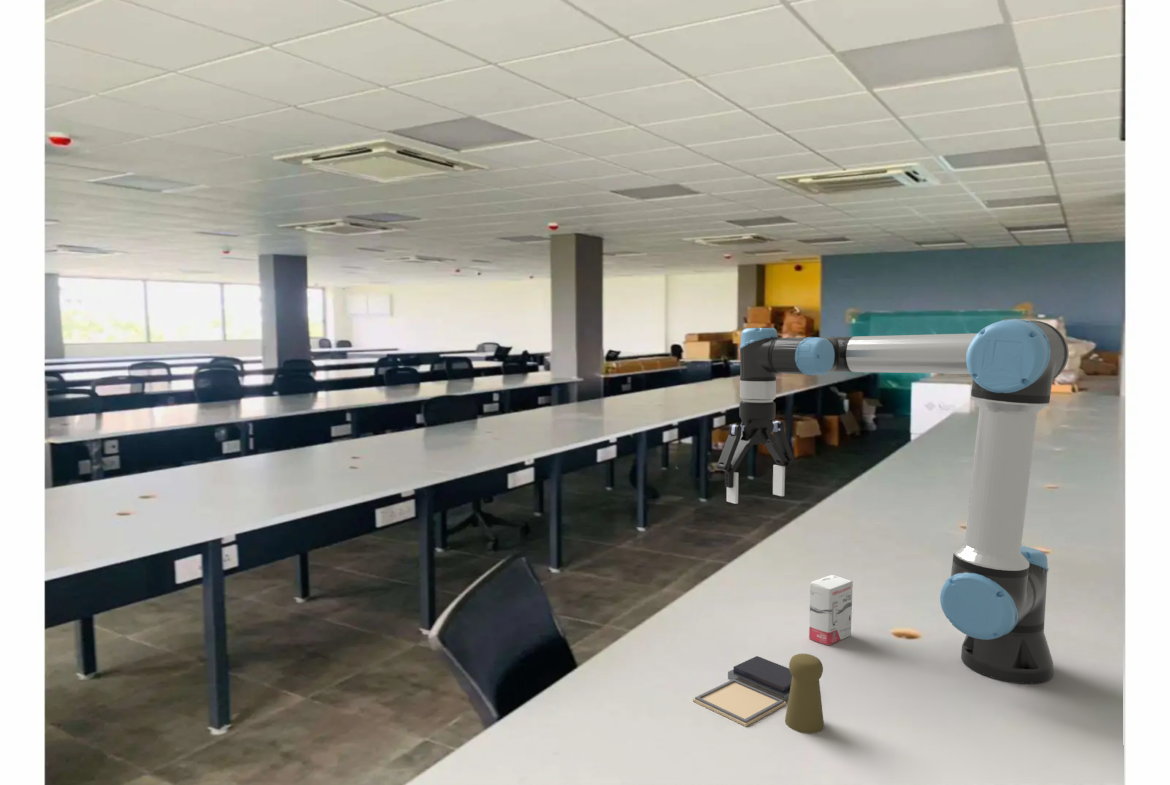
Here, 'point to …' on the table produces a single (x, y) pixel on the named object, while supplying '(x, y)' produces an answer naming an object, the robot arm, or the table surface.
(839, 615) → the ink box
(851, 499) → the table surface
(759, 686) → the ink pad
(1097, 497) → the table surface
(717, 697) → the print card
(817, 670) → the olive chess pawn
